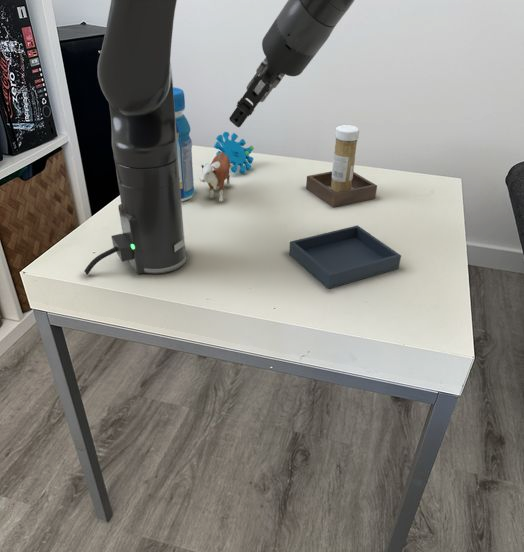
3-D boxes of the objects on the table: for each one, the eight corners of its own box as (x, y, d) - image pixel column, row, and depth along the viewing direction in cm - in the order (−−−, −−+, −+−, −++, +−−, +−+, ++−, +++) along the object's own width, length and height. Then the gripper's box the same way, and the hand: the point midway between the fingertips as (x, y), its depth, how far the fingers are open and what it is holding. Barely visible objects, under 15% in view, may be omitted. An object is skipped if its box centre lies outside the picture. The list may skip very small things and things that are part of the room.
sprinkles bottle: (355, 194, 111) (364, 129, 102) (338, 199, 109) (346, 132, 100) (341, 187, 114) (349, 122, 105) (324, 191, 112) (331, 126, 103)
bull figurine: (197, 207, 104) (195, 167, 99) (216, 182, 114) (215, 144, 109) (219, 210, 104) (217, 169, 98) (236, 184, 114) (235, 146, 109)
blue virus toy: (229, 173, 114) (210, 131, 114) (215, 186, 119) (197, 146, 119) (264, 167, 121) (247, 128, 121) (250, 180, 126) (233, 142, 126)
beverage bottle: (202, 197, 108) (196, 93, 95) (165, 206, 104) (154, 99, 91) (183, 184, 113) (175, 83, 101) (147, 192, 110) (134, 88, 97)
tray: (328, 288, 82) (329, 275, 81) (289, 254, 91) (289, 241, 89) (398, 268, 88) (401, 255, 86) (355, 237, 96) (357, 225, 94)
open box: (333, 207, 106) (334, 194, 104) (305, 188, 113) (306, 175, 111) (375, 198, 110) (377, 185, 108) (346, 180, 117) (347, 168, 115)
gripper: (294, -5, 79) (241, 76, 92) (262, 33, 71) (209, 115, 84) (331, 31, 81) (274, 105, 94) (304, 72, 73) (245, 147, 86)
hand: (243, 110), depth 89 cm, fingers open, 8 cm apart
